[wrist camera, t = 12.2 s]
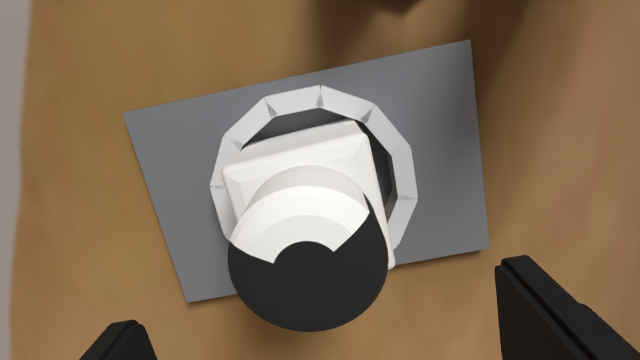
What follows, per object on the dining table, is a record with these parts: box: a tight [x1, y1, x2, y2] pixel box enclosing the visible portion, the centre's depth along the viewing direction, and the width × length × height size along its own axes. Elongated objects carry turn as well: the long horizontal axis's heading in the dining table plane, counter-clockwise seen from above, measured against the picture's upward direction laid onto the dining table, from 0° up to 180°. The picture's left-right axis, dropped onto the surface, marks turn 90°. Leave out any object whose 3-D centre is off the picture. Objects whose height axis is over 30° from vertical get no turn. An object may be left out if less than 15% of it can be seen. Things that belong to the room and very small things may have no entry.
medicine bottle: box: [221, 118, 395, 332], centre depth 19 cm, size 7×7×12 cm
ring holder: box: [122, 39, 490, 303], centre depth 24 cm, size 22×14×3 cm, turn 102°
